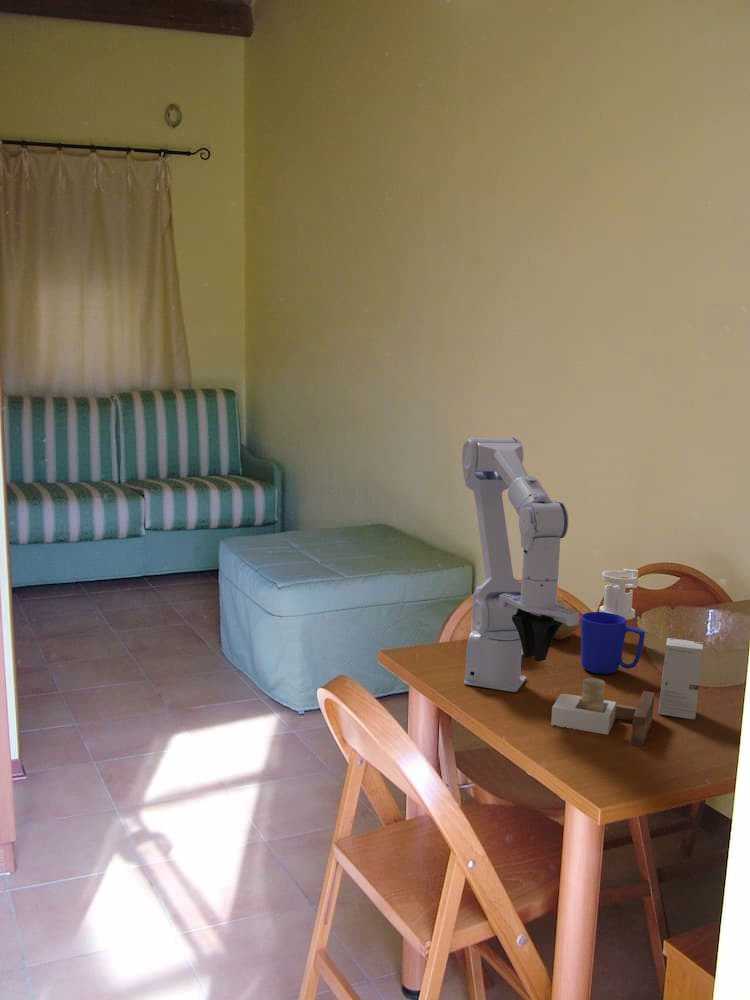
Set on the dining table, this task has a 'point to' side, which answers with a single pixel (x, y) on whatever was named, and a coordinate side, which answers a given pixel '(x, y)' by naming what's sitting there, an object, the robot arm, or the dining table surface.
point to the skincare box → (681, 678)
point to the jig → (638, 716)
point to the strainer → (619, 592)
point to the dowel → (593, 694)
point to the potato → (565, 629)
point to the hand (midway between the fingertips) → (534, 658)
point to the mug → (605, 642)
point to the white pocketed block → (582, 715)
